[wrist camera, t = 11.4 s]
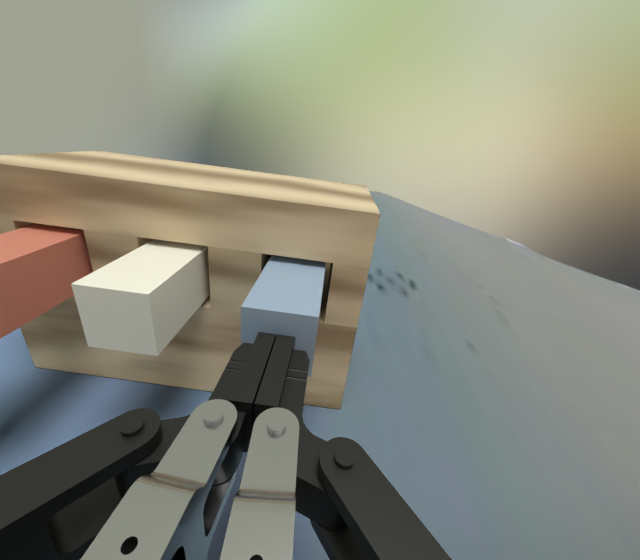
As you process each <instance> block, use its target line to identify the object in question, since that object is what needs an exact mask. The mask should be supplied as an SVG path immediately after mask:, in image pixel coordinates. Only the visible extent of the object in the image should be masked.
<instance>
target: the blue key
mask: <svg viewBox="0 0 640 560" xmlns="http://www.w3.org/2000/svg"><path fill="white" fill-rule="evenodd" d="M325 266H326V262H322V261H314V260H307V259H299V258H292V257H284V256H277V255H272V256H271V257H270V259H269V261H268V262H267V264H266V266H265V267H264V269H263V271H262V272H261V274H260V276H259V277H258V279H257V281H256V282H255V284H254V286H253V287H252V289H251V291H250V292H249V294H248V296H247V297H246V299H245V301H244V302H243V304H242V306H241V344H243V343H251V344H253V343H254V341H255V339H256V337H257V334H258V332H264V333H271V334H277V335H278V334H279V335H286V336H293V337H295V347H294V349H295V350H302V351H306V353H307V355H308V358H309V360H310V362H309V369H308V376H309V377H311V373H312V365H313V358H314V351H315V343H316V336H317V329H318V322H319V314H320V306H321V298H322V290H323V282H324V274H325Z"/></svg>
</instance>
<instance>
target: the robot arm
mask: <svg viewBox="0 0 640 560" xmlns="http://www.w3.org/2000/svg"><path fill="white" fill-rule="evenodd" d="M294 347H295V337H293V336H286V335H279V334H278V335H277V334H271V333H264V332H258V334H257V337H256V339H255V341H254V343H253V344H251V343H243V344H241V345H240V346H239V347H238V348H236V349H235V350H234V352H233V354H232V356H231V358H230V360H229V362H228V364H227V365H226V367H225V369H224V371H223V373H222V375H221V377H220V379H219V381H218V383H217V385H216V387H215V389H214V391H213V393H212V395H211V397H210V399H209V400H208V401H206V402H204V403H202V404H201V405H199V406H198V407H197V408H196V409H195V410H194V411H193V412H192V414H191V415H188V416H185V417H180V418H174V419H167V420H160V417H159V415H158V414H157V413H156V412H155V411H153V410H151V409H145V408H141V409H135V410H131V411H128V412H126V413H124V414H122V415H120V416H118V417H116V418H114V419H112V420H110V421H108V422H106V423H104V424H102V425H100V426H98V427H96V428H94V429H92V430H90V431H88V432H86V433H84V434H82V435H80V436H78V437H76V438H74V439H72V440H70V441H68V442H66V443H64V444H62V445H60V446H58V447H56V448H54V449H52V450H50V451H48V452H46V453H44V454H42V455H40V456H38V457H36V458H34V459H32V460H30V461H28V462H26V463H24V464H22V465H20V466H18V467H16V468H14V469H12V470H10V471H8V472H6V473H4V474H2V475H0V560H80V559H81V560H207V555H208V550H209V546H210V543H211V540H212V537H213V535H214V532H215V530H216V527H217V524H218V522H219V519H220V517H221V514H222V512H223V509H224V507H225V504H226V502H227V499H228V496H229V494H230V491H231V489H232V486H233V484H234V481H235V479H236V476H237V468H238V466H239V462H240V459H241V456H242V453H243V452H248V453H247V457H246V462H245V466H244V471H243V475H242V480H241V484H240V488H239V491H238V493H236V495H235V498H234V501H233V505H232V509H231V513H230V518H229V522H228V526H227V531H226V535H225V539H224V544H223V548H222V552H221V557H220V560H292V556H293V540H294V523H295V510H296V511H297V512H299V513H301V514H302V515H304V516H306V517H308V518H309V519H310V521H311V524H312V527H313V529H314V531H315V533H316V534H317V536H318V538H319V540H320V542H321V544H322V546H323V548H324V549H325V551H326V553H327V555H328V557H329V559H330V560H452V559H451V558H450V557H449V556H448V555H447V553H446V552H445V551H444V550H443V548H442V547H441V546H440V545H439V543H438V542H437V541H436V540H435V538H434V537H433V536H432V535H431V533H430V532H429V531H428V530H427V528H426V527H425V526H424V525H423V523H422V522H421V521H420V520H419V518H418V517H417V516H416V515H415V513H414V512H413V511H412V510H411V508H410V507H409V506H408V505H407V503H406V502H405V501H404V500H403V498H402V497H401V496H400V495H399V493H398V492H397V491H396V490H395V488H394V487H393V486H392V485H391V483H390V482H389V481H388V480H387V478H386V477H385V476H384V475H383V473H382V472H381V471H380V470H379V468H378V467H377V466H376V465H375V463H374V462H373V461H372V460H371V458H370V457H369V456H368V455H367V453H366V452H365V451H364V450H363V448H362V447H361V446H360V445H359V444H358V443H356V442H355V441H353V440H351V439H348V438H343V437H337V438H333V439H331V440H329V441H328V442H327V441H325V440H322V439H320V438H318V437H317V436H315V435H313V434H312V433H311V432H310V431H309V430H308V429H307V428H306V427H305V425H304V423H303V420H302V412H303V406H304V399H305V392H306V385H307V377H308V369H309V362H310V360H309V358H308V355H307V353H306V351H302V350H295V349H294Z"/></svg>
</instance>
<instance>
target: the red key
mask: <svg viewBox="0 0 640 560" xmlns="http://www.w3.org/2000/svg"><path fill="white" fill-rule="evenodd" d="M92 272H93V269H92V265H91V261H90V256H89V252H88V248H87V244H86V239H85V235H84V231H83V229H75V228H68V227H60V226H53V225H45V224H34V225H31V226H27V227H24V228H20V229H16V230H13V231H9V232H6V233H2V234H0V338H2V337H4V336H6V335H7V334H9V333H11V332H12V331H14V330H16V329H18V328H19V327H21V326H23V325H24V324H26V323H28V322H30V321H31V320H33V319H35V318H36V317H38V316H40V315H41V314H43V313H45V312H47V311H48V310H50V309H52V308H53V307H55V306H57V305H59V304H60V303H62V302H64V301H65V300H67V299H69V298H71V297H72V296H74V293H73V289H72V286H71V284H72V283H74V282H75V281H77V280H79V279H81V278H83V277H85V276H87V275H89V274H90V273H92Z"/></svg>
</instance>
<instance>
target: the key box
mask: <svg viewBox="0 0 640 560" xmlns="http://www.w3.org/2000/svg"><path fill="white" fill-rule="evenodd" d="M379 218H380V212H379V210H378V208H377V206H376V204H375V203H374V201H373V199H372V197H371V195H370V193H369V191H368V189H367V187H366V186H362V185H354V184H347V183H339V182H331V181H323V180H316V179H309V178H301V177H293V176H285V175H278V174H270V173H262V172H256V171H248V170H240V169H232V168H225V167H217V166H210V165H202V164H194V163H187V162H179V161H172V160H164V159H156V158H149V157H141V156H133V155H126V154H119V153H111V152H104V151H84V152H64V153H42V154H23V155H22V154H21V155H0V234H2V233H6V232H9V231H13V230H16V229H20V228H24V227H27V226H31V225H34V224H45V225H53V226H60V227H68V228H75V229H83V231H84V235H85V239H86V244H87V248H88V252H89V256H90V261H91V265H92V269H93V272H94V271H96V270H98V269H100V268H102V267H103V266H105V265H107V264H109V263H111V262H113V261H115V260H117V259H118V258H120V257H122V256H124V255H126V254H128V253H130V252H132V251H133V250H135V249H137V248H139V247H141V246H143V245H145V244H146V243H148V242H150V241H152V240H154V239H157V240H165V241H172V242H180V243H187V244H195V245H202V246H208V260H209V281H210V295H209V296H208V297H207V299H206V300H205V301H204V302H203V303H202V304H201V306H200V307H199V308H198V309H197V310H196V312H195V313H194V314H193V315H192V316H191V317H190V319H189V320H188V321H187V322H186V323H185V325H184V326H183V327H182V328H181V329H180V330H179V332H178V333H177V334H176V335H175V336H174V338H173V339H172V340H171V341H170V342H169V343H168V345H167V346H166V347H165V348H164V349H163V350H162V352H161V353H160V354H159V355H158V356H153V355H146V354H139V353H131V352H124V351H117V350H109V349H102V348H95V347H88V344H87V341H86V337H85V333H84V330H83V326H82V322H81V319H80V315H79V311H78V308H77V304H76V300H75V297H74V296H72V297H71V298H69V299H67V300H65V301H64V302H62V303H60V304H59V305H57V306H55V307H53V308H52V309H50V310H48V311H47V312H45V313H43V314H41V315H40V316H38V317H36V318H35V319H33V320H31V321H30V322H28V323H26V324H24V325H23V326H21V327H20V328H21V331H22V334H23V336H24V339H25V341H26V344H27V347H28V349H29V352H30V354H31V357H32V360H33V362H34V365H35V367H37V368H45V369H52V370H59V371H66V372H74V373H81V374H88V375H95V376H103V377H110V378H117V379H124V380H132V381H139V382H146V383H153V384H161V385H168V386H175V387H182V388H190V389H197V390H204V391H211V392H213V391H214V389H215V387H216V385H217V383H218V381H219V379H220V377H221V375H222V373H223V371H224V369H225V367H226V365H227V364H228V362H229V360H230V358H231V356H232V354H233V352H234V350H235V349H236V348H238V347H239V346H240V345H241V306H242V304H243V302H244V301H245V299H246V297H247V296H248V294H249V292H250V291H251V289H252V287H253V286H254V284H255V282H256V281H257V279H258V277H259V276H260V274H261V272H262V271H263V269H264V267H265V266H266V264H267V262H268V261H269V259H270V257H271V256H272V255H277V256H284V257H292V258H299V259H307V260H314V261H322V262H326V266H325V274H324V282H323V290H322V298H321V306H320V314H319V322H318V329H317V336H316V343H315V351H314V358H313V365H312V373H311V377H309V376H308V377H307V385H306V392H305V399H304V404H306V405H313V406H320V407H327V408H334V409H340V408H341V403H342V398H343V393H344V388H345V383H346V379H347V374H348V369H349V364H350V359H351V354H352V349H353V345H354V340H355V335H356V330H357V325H358V320H359V315H360V311H361V306H362V301H363V296H364V291H365V286H366V281H367V277H368V272H369V267H370V262H371V257H372V252H373V247H374V243H375V238H376V233H377V228H378V223H379Z"/></svg>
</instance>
